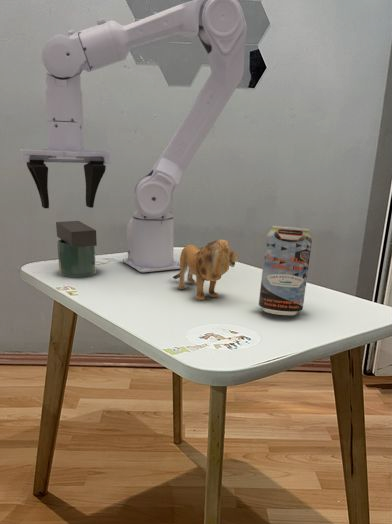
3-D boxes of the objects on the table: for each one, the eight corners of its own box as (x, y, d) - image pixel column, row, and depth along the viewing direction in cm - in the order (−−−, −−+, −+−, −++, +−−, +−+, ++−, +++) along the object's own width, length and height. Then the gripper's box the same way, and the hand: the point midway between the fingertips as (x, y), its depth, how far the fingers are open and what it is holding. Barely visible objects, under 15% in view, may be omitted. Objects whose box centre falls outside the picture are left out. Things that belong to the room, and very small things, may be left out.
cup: (56, 270, 98) (53, 238, 96) (89, 267, 100) (88, 236, 98) (65, 278, 93) (62, 245, 91) (100, 275, 95) (98, 243, 93)
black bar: (56, 236, 98) (55, 221, 97) (79, 235, 100) (78, 220, 99) (72, 247, 90) (71, 231, 89) (96, 245, 91) (96, 230, 90)
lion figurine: (241, 301, 83) (244, 240, 80) (212, 307, 80) (214, 244, 77) (185, 279, 94) (186, 224, 91) (158, 283, 91) (158, 227, 88)
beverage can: (254, 318, 76) (260, 228, 72) (263, 303, 83) (269, 220, 78) (301, 323, 74) (310, 232, 70) (306, 307, 81) (315, 223, 77)
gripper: (24, 120, 85) (29, 211, 90) (115, 124, 92) (116, 209, 97) (15, 119, 91) (21, 205, 96) (102, 123, 97) (103, 204, 102)
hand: (68, 207), depth 97 cm, fingers open, 7 cm apart
